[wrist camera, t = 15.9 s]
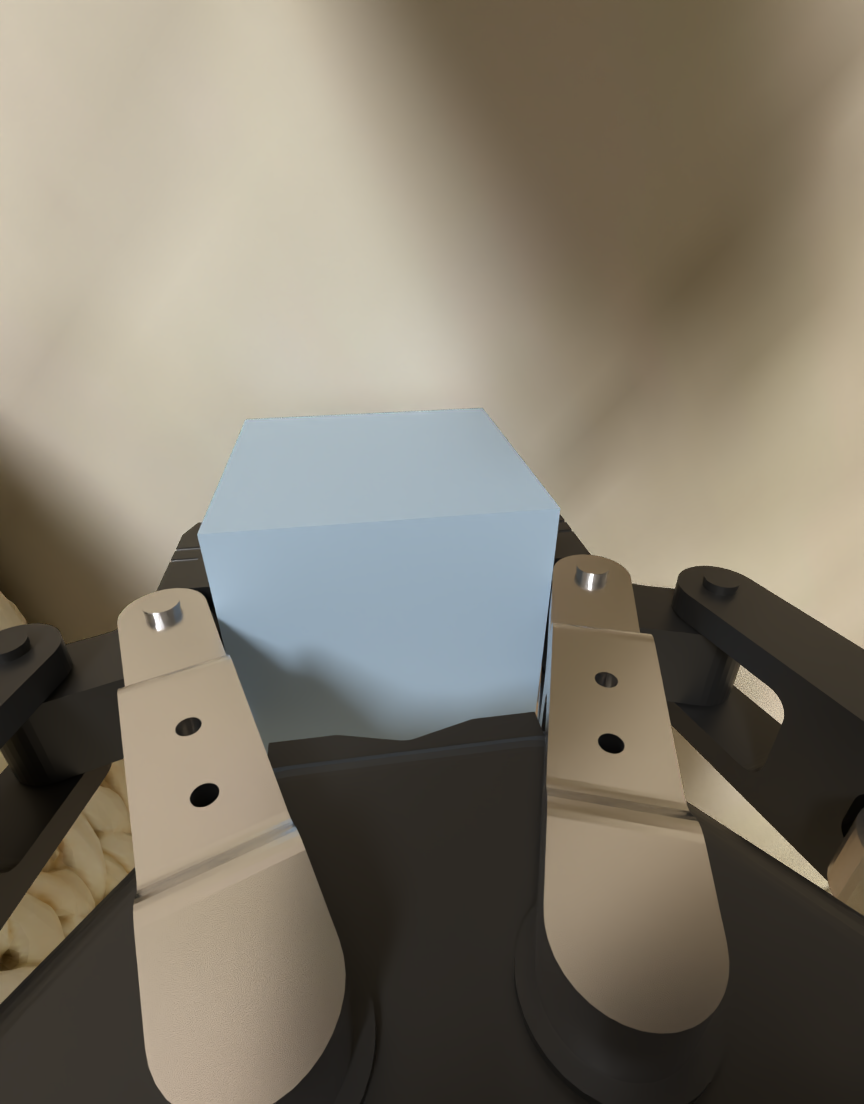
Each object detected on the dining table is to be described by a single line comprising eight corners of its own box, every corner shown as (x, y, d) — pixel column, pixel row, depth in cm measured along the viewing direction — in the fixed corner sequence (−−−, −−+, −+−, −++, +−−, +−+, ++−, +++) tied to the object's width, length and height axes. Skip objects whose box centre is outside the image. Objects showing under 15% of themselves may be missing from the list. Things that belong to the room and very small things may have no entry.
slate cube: (482, 407, 12) (559, 508, 8) (474, 597, 15) (531, 748, 11) (245, 419, 12) (197, 534, 8) (279, 614, 14) (257, 783, 10)
